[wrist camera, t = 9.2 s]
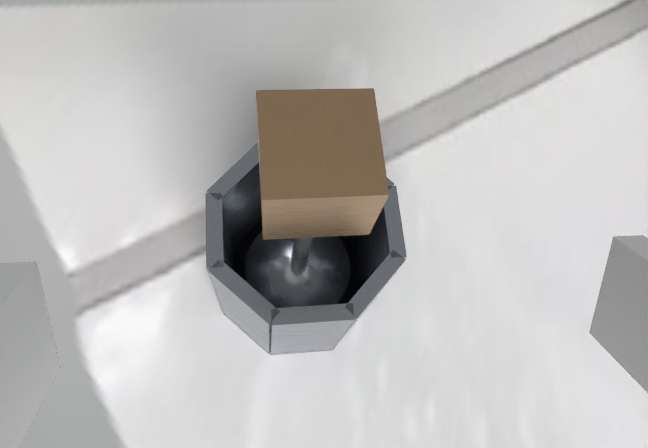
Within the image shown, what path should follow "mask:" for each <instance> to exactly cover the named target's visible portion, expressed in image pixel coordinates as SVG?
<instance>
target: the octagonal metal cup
mask: <svg viewBox="0 0 648 448" xmlns="http://www.w3.org/2000/svg"><path fill="white" fill-rule="evenodd" d="M387 184H388V191H389V196H388V198H387V200H386V202H385V204H384V206H383V208H382V210H381V212H380V214H379V216H378V218H377V220H376V222H375V224H374V226H373V228H372V230H371V232H370V234H369V235H351V236H338V237H339V239H340V240H341V241H342V243H343V244H344V246H345V248H346V250H347V253H348V256H349V261H350V278H349V283H348V286H347V288H346V291H345V292H344V294H343V296H342V298H341V299H340V301H339V302H338V303H337V304H331V305H316V306H301V307H285V308H276V307H275V306H273V305H272V304H271V303H270V302H269V301H268V300H267V299H265V298H264V297H263V296H262V295H261V294H260V293H259V292H257V291H256V290H255V289H254V288H253V287H252V286H250V285H249V284H248V283H247V281H246V275H245V262H246V256H247V253H248V250H249V248H250V246H251V244H252V242H253V241H254V239H255V238H256V237H257V236H258V235H259V234H260V233H261V232H262V212H261V192H260V172H259V152H258V143H257V144H256V145H255V146H254V147H253V148H252V149H251V150H250V151H249V152H248V153H247V154H246V155H245V156H243V157H242V158H241V159H240V160H239V161H238V162H237V163H236V164H235V165H234V166H233V167H232V168H231V169H230V170H229V171H228V172H226V173H225V174H224V175H223V176H222V177H221V178H220V179H219V180H218V181H217V182H216V183H215V184H214V185H213V186H212V187H211V188H210V189H208V190H207V193H206V268H207V271H208V273H209V276H210V279H211V282H212V284H213V287H214V290H215V292H216V295H217V298H218V300H219V303H220V306H221V308H222V311H223V313H224V315H225V316H227V317H228V318H229V319H230V320H231V321H232V322H233V323H234V324H236V325H237V326H238V327H239V328H240V329H241V330H242V331H243V332H244V333H246V334H247V335H248V336H249V337H250V338H251V339H252V340H253V341H255V342H256V343H257V344H258V345H259V346H260V347H261V348H262V349H264V350H265V351H266V352H267V353H268V354H269V353H270V352H271V355H275V354H288V353H301V352H314V351H327V350H332V349H334V348H335V347H336V345H337V344H338V343H339V342H340V341H341V339H342V338H343V337H344V336H345V334H346V333H347V332H348V331H349V330H350V328H351V327H352V326H353V325H354V324H355V322H356V321H357V320H358V319H359V317H360V316H361V315H362V314H363V313H364V311H365V310H366V309H367V308H368V307H369V305H370V304H371V303H372V302H373V300H374V299H375V298H376V296H377V295H378V294H379V293H380V291H381V290H382V289H383V288H384V286H385V285H386V284H387V283H388V281H389V280H390V279H391V278H392V276H393V275H394V274H395V272H396V271H397V270H398V269H399V267H400V266H401V265H402V264H403V262H404V261H405V260H406V259H405V258H406V257H407V256H406V250H405V243H404V236H403V230H402V223H401V216H400V210H399V203H398V196H397V189H396V186H394V183H393V182H392V181H390V180H389V179H388V178H387Z"/></svg>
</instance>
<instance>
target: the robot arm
mask: <svg viewBox="0 0 648 448" xmlns="http://www.w3.org/2000/svg"><path fill="white" fill-rule="evenodd" d="M589 333H590V334H591V335H592V336H593V337H594V338H595V339H596V340H597V341H598V342H599V343H600V344H601V345H602V346H603V347H604V348H605V349H606V350H607V351H608V352H609V353H610V355H611V356H612V357H613V358H614V359H615V360H616V361H617V362H618V363H619V364H620V365H621V366H622V367H623V368H624V369H625V370H626V371H627V372H628V373H629V374H630V375H631V376H632V377H633V378H634V379H635V380H636V381H637V382H638V383H639V384H640V385H641V386H642V387H643V388H644V390H645V391H646V392H647V393H648V238H646V237H645V236H643V235H641V236H618V237H613V240H612V244H611V248H610V252H609V256H608V260H607V264H606V268H605V272H604V276H603V280H602V284H601V288H600V292H599V296H598V300H597V304H596V308H595V312H594V316H593V320H592V324H591V328H590V332H589ZM60 367H61V366H60V362H59V357H58V353H57V349H56V344H55V340H54V336H53V332H52V327H51V323H50V319H49V314H48V310H47V305H46V301H45V297H44V292H43V288H42V284H41V280H40V275H39V271H38V266H37V262H20V263H0V448H20V446H21V444H22V442H23V440H24V438H25V436H26V434H27V432H28V430H29V428H30V426H31V424H32V422H33V420H34V418H35V416H36V415H37V413H38V410H39V409H40V407H41V405H42V403H43V401H44V399H45V397H46V395H47V393H48V391H49V389H50V387H51V385H52V383H53V381H54V379H55V377H56V375H57V373H58V371H59V369H60Z"/></svg>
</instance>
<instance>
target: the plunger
mask: <svg viewBox="0 0 648 448" xmlns="http://www.w3.org/2000/svg"><path fill="white" fill-rule="evenodd" d="M256 98H257V127H258V152H259V172H260V192H261V212H262V232H261V233H260V234H259V235H258V236H257V237H256V238H255V239H254V241H253V242H252V244H251V246H250V248H249V250H248V253H247V256H246V262H245V275H246V281H247V283H248V284H249V285H250V286H252V287H253V288H254V289H255V290H256V291H257V292H259V293H260V294H261V295H262V296H263V297H264V298H265V299H267V300H268V301H269V302H270V303H271V304H272V305H273V306H275V307H276V308H285V307H301V306H316V305H331V304H337V303H338V302H339V301H340V299H341V298H342V296H343V294H344V292H345V291H346V288H347V286H348V283H349V278H350V261H349V256H348V253H347V250H346V248H345V246H344V244H343V243H342V241H341V240H340V239H339V237H338V236H351V235H369V234H370V232H371V230H372V228H373V226H374V224H375V222H376V220H377V218H378V216H379V214H380V212H381V210H382V208H383V206H384V204H385V202H386V200H387V198H388V196H389V191H388V184H387V177H386V170H385V163H384V156H383V149H382V142H381V135H380V128H379V121H378V114H377V107H376V100H375V93H374V89H315V90H256Z"/></svg>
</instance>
